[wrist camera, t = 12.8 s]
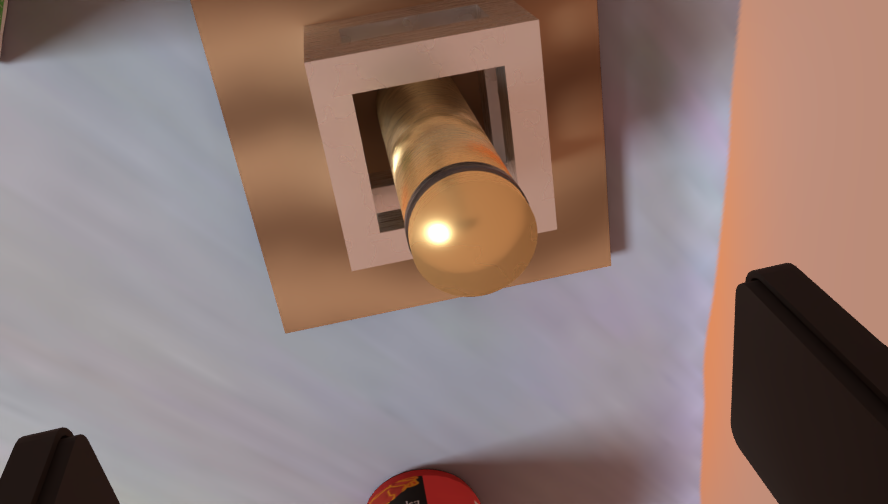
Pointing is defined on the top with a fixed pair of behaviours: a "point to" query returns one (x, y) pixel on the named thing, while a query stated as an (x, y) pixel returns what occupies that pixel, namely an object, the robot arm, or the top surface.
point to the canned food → (424, 489)
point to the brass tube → (454, 191)
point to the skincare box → (2, 19)
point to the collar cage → (418, 59)
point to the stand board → (385, 152)
